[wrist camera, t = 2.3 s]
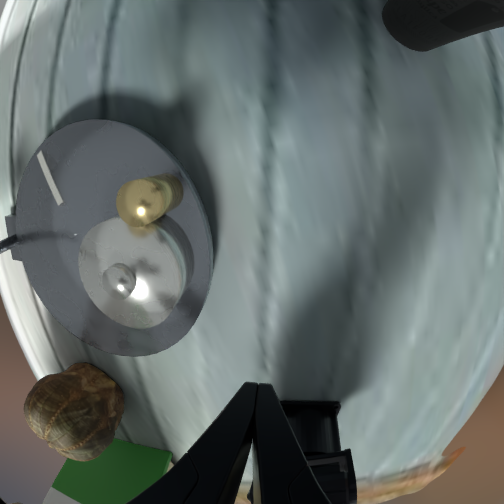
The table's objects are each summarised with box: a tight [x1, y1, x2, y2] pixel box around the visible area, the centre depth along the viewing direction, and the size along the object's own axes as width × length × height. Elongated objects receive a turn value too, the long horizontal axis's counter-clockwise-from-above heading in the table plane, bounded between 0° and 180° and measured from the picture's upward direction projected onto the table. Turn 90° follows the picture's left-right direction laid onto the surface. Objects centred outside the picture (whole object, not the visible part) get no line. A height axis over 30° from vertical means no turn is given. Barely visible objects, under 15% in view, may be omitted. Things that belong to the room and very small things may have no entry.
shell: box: [24, 363, 124, 461], centre depth 23 cm, size 11×11×12 cm
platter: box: [15, 119, 214, 357], centre depth 18 cm, size 20×20×5 cm
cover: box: [78, 214, 195, 328], centre depth 16 cm, size 7×7×4 cm
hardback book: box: [42, 438, 174, 504], centre depth 24 cm, size 18×7×24 cm, turn 96°
